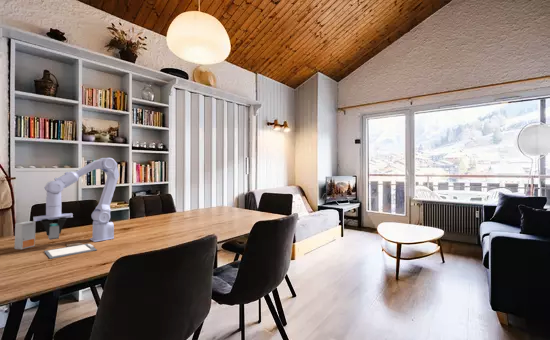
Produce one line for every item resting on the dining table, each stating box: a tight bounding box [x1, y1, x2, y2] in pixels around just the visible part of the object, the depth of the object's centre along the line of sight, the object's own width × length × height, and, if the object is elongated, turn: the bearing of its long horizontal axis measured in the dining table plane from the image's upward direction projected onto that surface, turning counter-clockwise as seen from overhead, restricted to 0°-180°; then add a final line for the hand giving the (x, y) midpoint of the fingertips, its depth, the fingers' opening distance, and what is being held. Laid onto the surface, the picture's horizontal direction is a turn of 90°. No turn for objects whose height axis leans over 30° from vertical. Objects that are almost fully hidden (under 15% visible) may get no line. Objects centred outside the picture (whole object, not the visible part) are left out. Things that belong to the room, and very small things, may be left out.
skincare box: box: [14, 220, 37, 250], centre depth 127 cm, size 6×4×12 cm
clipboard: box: [43, 243, 98, 260], centre depth 124 cm, size 17×14×1 cm
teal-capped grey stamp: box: [47, 222, 60, 240], centre depth 128 cm, size 4×4×7 cm
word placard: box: [65, 241, 83, 247], centre depth 133 cm, size 6×4×1 cm, turn 139°
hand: (53, 234), depth 128 cm, fingers closed on teal-capped grey stamp, 4 cm apart
